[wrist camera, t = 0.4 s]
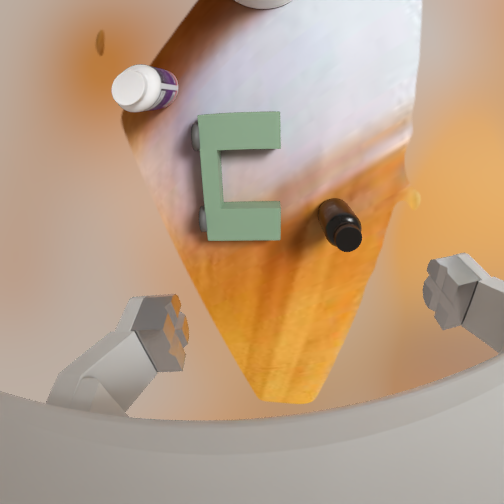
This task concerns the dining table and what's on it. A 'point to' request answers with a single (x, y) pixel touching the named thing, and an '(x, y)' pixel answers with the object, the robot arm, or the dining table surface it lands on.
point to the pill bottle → (144, 88)
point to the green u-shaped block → (210, 143)
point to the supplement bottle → (340, 224)
